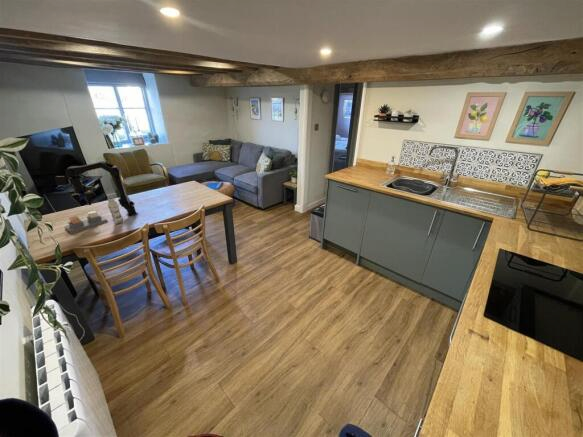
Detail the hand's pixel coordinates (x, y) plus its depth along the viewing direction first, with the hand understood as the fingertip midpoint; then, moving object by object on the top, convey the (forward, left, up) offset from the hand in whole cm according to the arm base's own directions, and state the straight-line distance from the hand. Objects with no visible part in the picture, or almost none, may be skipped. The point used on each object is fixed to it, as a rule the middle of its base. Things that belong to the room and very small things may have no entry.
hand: (85, 204), depth 176 cm
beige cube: (-7, 0, -8) cm, 11 cm away
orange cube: (-7, +11, -8) cm, 15 cm away
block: (-7, +5, -13) cm, 16 cm away
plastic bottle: (-22, -10, -13) cm, 28 cm away
